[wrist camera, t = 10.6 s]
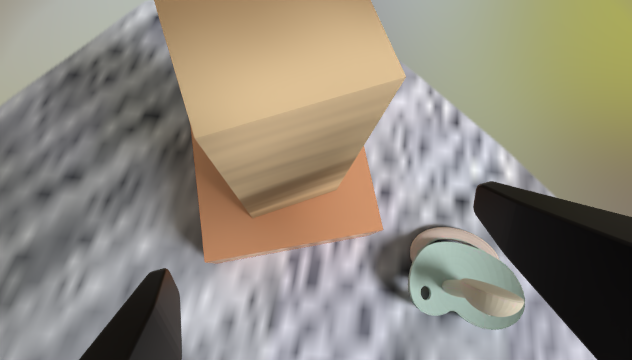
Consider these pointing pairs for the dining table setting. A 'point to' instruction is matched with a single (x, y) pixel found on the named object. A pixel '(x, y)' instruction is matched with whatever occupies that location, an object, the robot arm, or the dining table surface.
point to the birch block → (280, 90)
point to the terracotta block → (282, 215)
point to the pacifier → (463, 279)
